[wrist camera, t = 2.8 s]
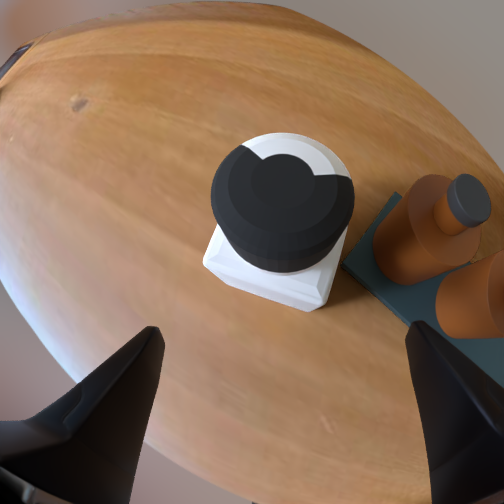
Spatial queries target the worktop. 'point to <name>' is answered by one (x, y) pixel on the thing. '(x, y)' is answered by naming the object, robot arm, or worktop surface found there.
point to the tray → (418, 299)
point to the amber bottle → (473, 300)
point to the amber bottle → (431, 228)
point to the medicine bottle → (280, 219)
